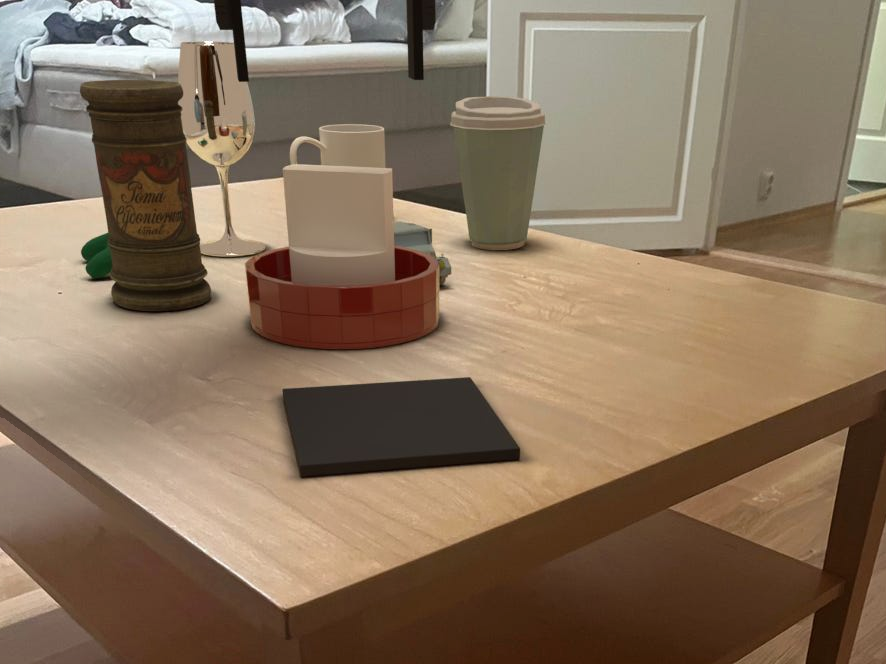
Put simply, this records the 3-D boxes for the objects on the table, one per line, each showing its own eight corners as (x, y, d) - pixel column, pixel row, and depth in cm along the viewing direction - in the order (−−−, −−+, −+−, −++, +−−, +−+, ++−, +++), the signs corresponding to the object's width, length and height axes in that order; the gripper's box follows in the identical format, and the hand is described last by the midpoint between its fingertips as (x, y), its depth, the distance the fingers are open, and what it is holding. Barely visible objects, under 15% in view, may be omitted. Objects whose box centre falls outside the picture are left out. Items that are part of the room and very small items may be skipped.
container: (109, 291, 97) (71, 78, 87) (204, 284, 99) (178, 77, 90) (116, 316, 90) (75, 88, 80) (218, 308, 92) (191, 86, 83)
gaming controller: (115, 297, 101) (152, 251, 100) (82, 271, 99) (120, 224, 98) (108, 276, 108) (142, 233, 108) (77, 251, 106) (112, 207, 105)
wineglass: (193, 243, 114) (166, 40, 104) (262, 240, 116) (243, 41, 106) (198, 259, 108) (170, 44, 97) (271, 255, 110) (252, 45, 99)
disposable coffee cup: (553, 252, 114) (561, 104, 106) (462, 257, 111) (463, 105, 103) (524, 233, 122) (529, 94, 114) (439, 237, 120) (438, 95, 112)
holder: (300, 477, 62) (299, 465, 61) (283, 399, 73) (282, 388, 72) (520, 459, 64) (520, 448, 64) (470, 386, 76) (470, 376, 75)
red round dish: (256, 354, 81) (250, 291, 79) (246, 300, 95) (241, 245, 92) (456, 343, 85) (456, 283, 82) (419, 293, 98) (418, 239, 96)
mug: (369, 211, 132) (365, 122, 126) (398, 222, 127) (396, 130, 121) (283, 220, 126) (275, 127, 121) (310, 231, 121) (303, 135, 115)
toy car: (414, 293, 98) (413, 241, 95) (364, 272, 105) (362, 222, 102) (469, 285, 101) (469, 234, 99) (417, 264, 108) (416, 216, 105)
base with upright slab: (405, 304, 93) (402, 163, 86) (383, 332, 85) (378, 180, 79) (311, 299, 94) (301, 158, 87) (281, 326, 86) (267, 175, 80)
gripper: (111, -305, 62) (166, 85, 74) (501, -280, 67) (495, 81, 79) (118, -279, 68) (168, 77, 80) (475, -258, 73) (474, 74, 85)
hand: (331, 80), depth 79 cm, fingers open, 13 cm apart
